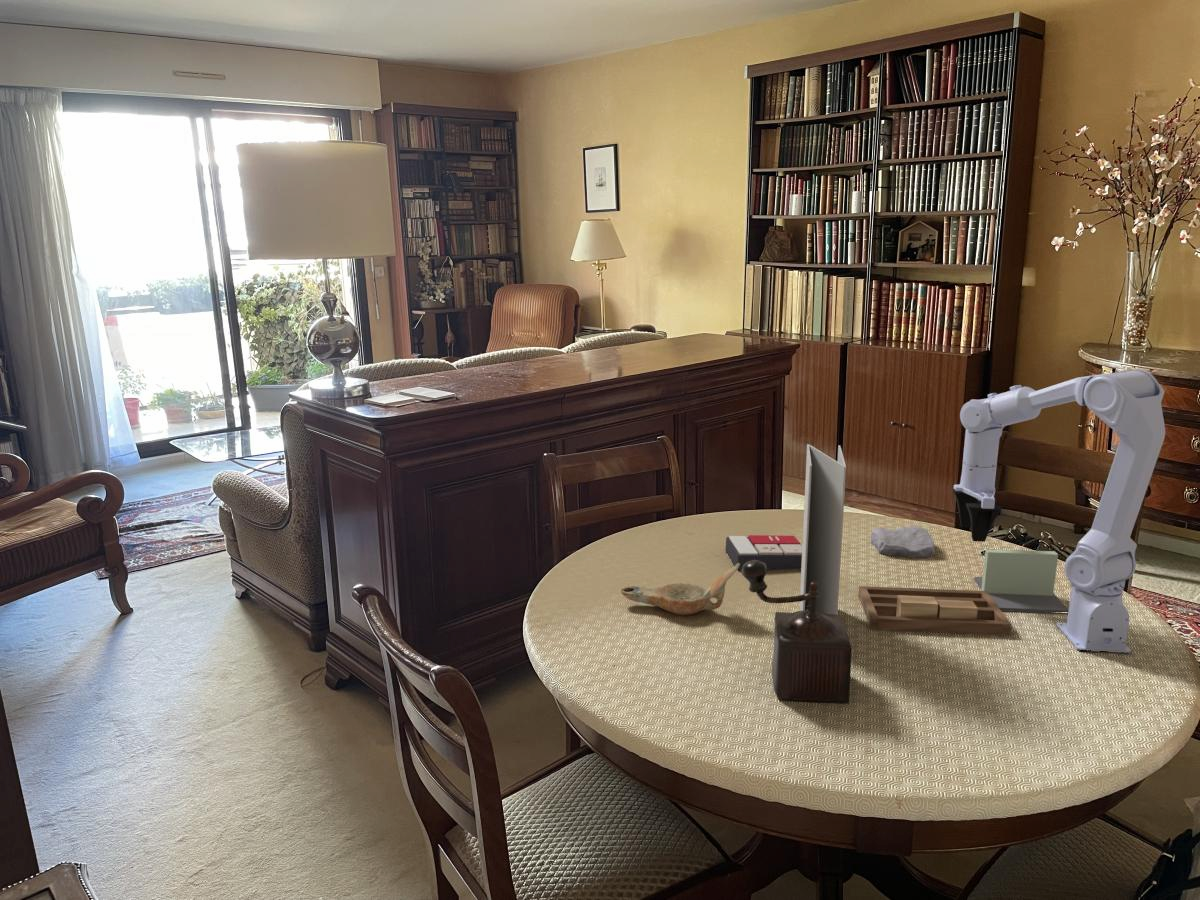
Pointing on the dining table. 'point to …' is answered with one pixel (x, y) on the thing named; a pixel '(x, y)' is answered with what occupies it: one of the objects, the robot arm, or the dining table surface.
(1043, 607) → the mat
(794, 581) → the dining table surface
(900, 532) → the stone block
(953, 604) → the offcut
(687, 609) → the oil lamp
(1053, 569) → the pale green rectangular block
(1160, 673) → the dining table surface
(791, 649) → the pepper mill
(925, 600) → the offcut
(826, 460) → the brochure
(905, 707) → the dining table surface
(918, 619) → the rack
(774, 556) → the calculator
